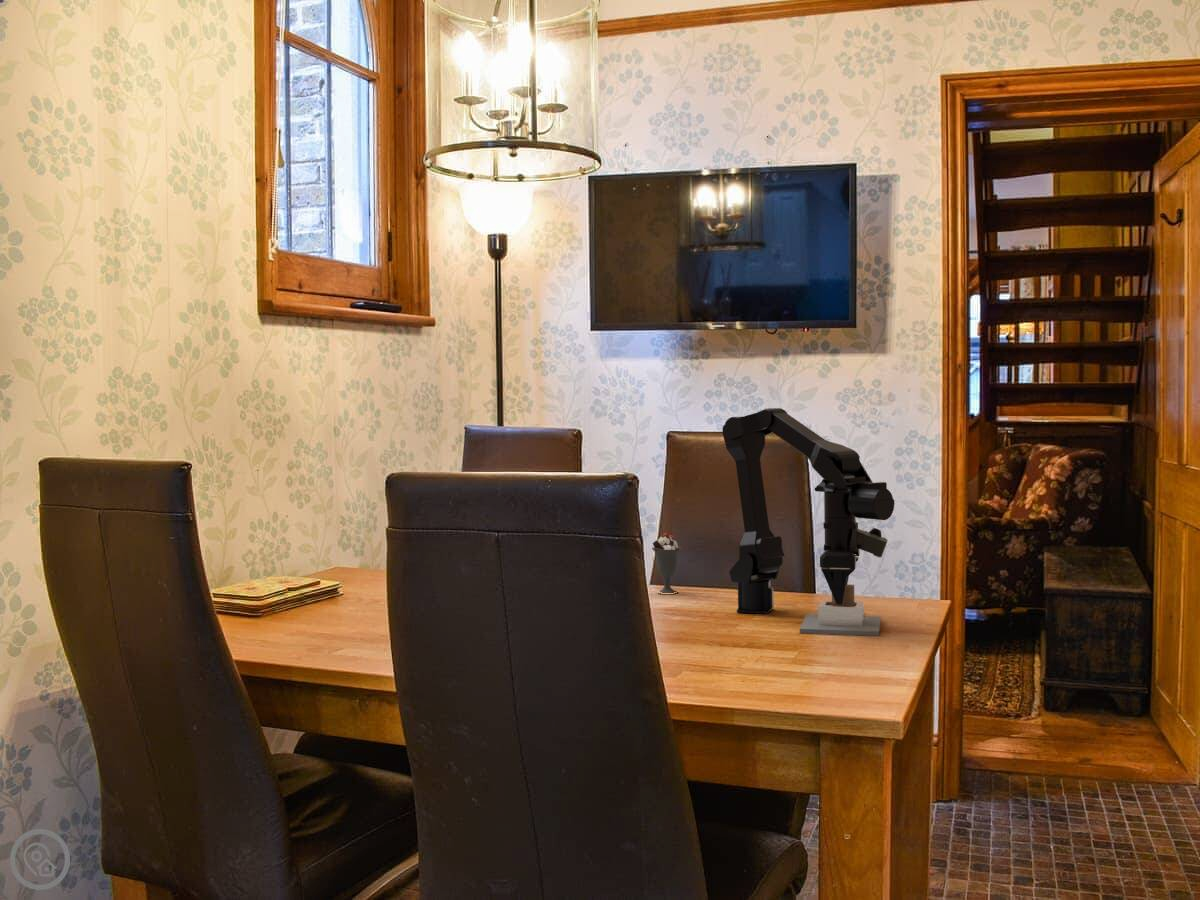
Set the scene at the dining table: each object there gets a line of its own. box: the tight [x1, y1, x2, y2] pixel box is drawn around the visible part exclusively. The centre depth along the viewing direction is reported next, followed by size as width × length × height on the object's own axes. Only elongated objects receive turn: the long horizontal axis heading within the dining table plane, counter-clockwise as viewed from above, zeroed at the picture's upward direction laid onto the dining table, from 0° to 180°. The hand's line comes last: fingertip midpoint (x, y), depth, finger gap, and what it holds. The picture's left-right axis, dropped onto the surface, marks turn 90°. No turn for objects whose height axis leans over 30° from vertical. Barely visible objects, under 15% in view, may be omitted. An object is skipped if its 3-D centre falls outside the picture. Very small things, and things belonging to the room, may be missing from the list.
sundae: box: [651, 525, 682, 593], centre depth 246 cm, size 7×7×15 cm
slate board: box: [799, 613, 882, 637], centre depth 206 cm, size 14×14×1 cm
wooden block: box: [831, 584, 855, 606], centre depth 206 cm, size 4×2×7 cm, turn 74°
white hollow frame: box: [817, 600, 865, 626], centre depth 206 cm, size 8×6×4 cm
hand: (840, 599), depth 206 cm, fingers open, 9 cm apart
